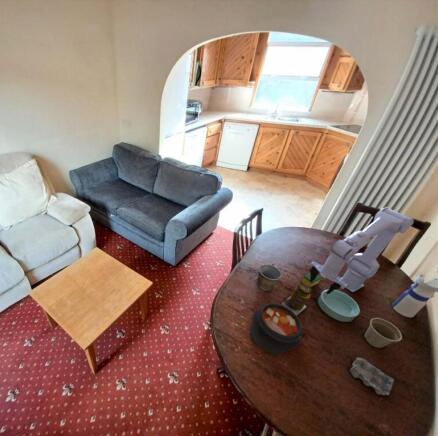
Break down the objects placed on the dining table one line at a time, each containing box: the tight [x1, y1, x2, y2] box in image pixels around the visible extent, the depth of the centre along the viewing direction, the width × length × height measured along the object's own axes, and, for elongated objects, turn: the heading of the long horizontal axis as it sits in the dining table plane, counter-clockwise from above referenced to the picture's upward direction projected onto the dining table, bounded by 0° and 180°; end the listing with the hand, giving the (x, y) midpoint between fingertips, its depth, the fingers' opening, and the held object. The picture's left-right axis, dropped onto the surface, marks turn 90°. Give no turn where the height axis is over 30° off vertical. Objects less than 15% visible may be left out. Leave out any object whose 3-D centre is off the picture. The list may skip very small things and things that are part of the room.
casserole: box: [249, 302, 304, 356], centre depth 97 cm, size 25×19×8 cm
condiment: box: [281, 283, 312, 316], centre depth 106 cm, size 7×8×12 cm
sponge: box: [300, 272, 323, 288], centre depth 119 cm, size 7×4×4 cm, turn 114°
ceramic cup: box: [256, 263, 283, 291], centre depth 117 cm, size 13×10×10 cm
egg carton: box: [349, 357, 395, 396], centre depth 84 cm, size 11×8×4 cm
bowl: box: [317, 288, 361, 323], centre depth 107 cm, size 14×14×4 cm
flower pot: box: [363, 317, 403, 349], centre depth 93 cm, size 9×9×9 cm
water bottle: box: [391, 270, 438, 318], centre depth 100 cm, size 8×8×25 cm
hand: (319, 286), depth 106 cm, fingers open, 7 cm apart
